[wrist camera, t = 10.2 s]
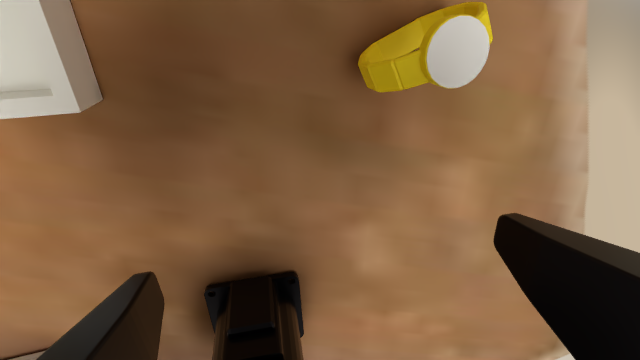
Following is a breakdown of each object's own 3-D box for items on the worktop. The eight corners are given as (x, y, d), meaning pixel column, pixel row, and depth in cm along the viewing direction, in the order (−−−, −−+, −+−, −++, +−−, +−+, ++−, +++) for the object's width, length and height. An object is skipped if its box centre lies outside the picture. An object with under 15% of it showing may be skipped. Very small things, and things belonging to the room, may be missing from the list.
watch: (436, -9, 18) (523, -25, 12) (449, 41, 19) (533, 46, 14) (338, 47, 18) (384, 55, 12) (358, 93, 19) (408, 118, 14)
